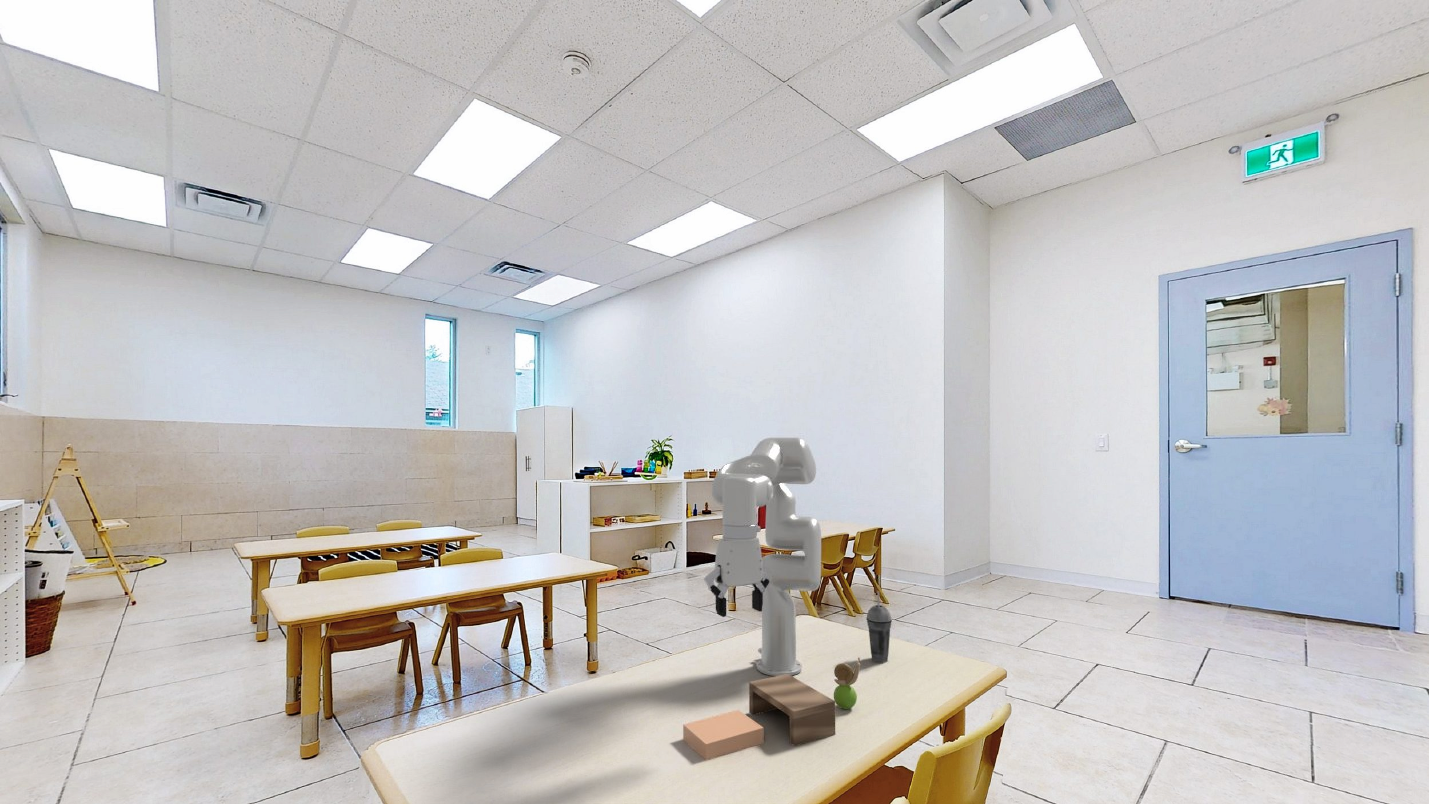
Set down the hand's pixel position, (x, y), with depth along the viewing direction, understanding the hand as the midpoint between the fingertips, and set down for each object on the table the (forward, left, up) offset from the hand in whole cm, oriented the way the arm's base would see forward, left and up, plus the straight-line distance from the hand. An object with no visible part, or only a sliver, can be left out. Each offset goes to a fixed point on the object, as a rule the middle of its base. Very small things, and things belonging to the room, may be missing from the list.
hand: (739, 612), depth 134 cm
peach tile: (0, -4, -27) cm, 27 cm away
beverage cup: (-21, +60, -27) cm, 69 cm away
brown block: (0, +13, -26) cm, 29 cm away
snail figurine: (0, +30, -27) cm, 40 cm away
